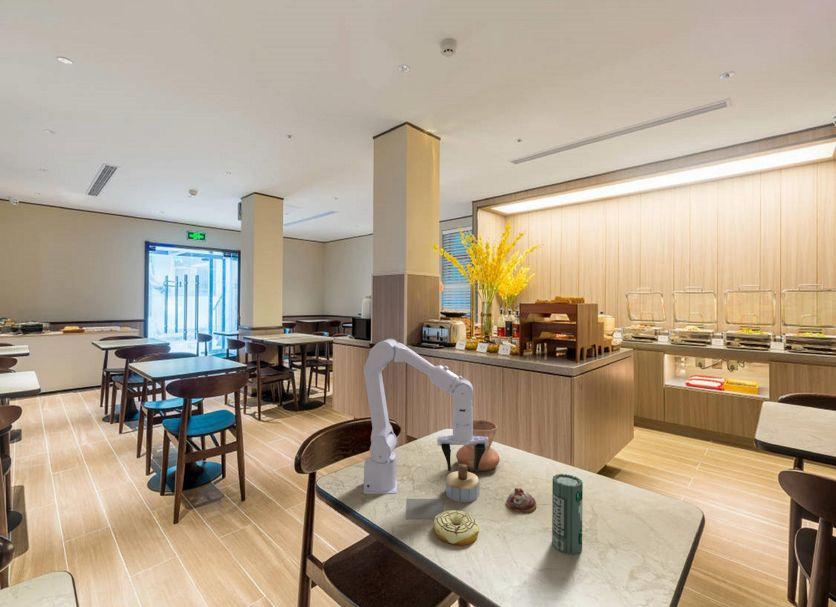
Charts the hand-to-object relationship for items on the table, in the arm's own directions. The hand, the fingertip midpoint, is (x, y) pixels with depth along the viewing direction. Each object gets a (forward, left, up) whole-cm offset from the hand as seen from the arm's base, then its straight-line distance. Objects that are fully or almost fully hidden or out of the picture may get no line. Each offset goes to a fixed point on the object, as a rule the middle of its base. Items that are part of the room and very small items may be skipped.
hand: (462, 469), depth 110 cm
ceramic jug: (+8, +20, -8) cm, 23 cm away
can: (+21, -23, -7) cm, 32 cm away
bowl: (0, 0, -7) cm, 7 cm away
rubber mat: (-11, -8, -7) cm, 15 cm away
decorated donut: (-4, -19, -8) cm, 21 cm away
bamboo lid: (0, 0, -3) cm, 3 cm away
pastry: (+15, -6, -8) cm, 18 cm away
